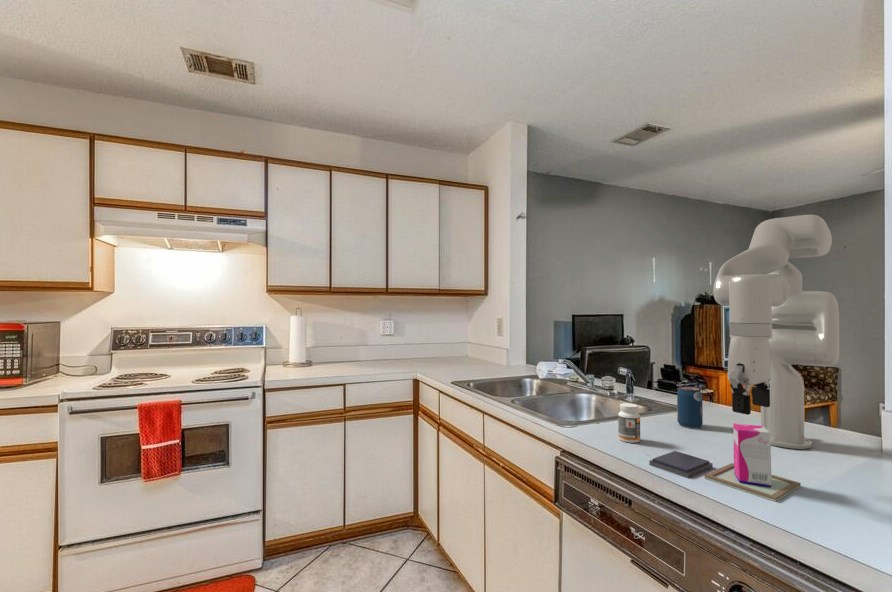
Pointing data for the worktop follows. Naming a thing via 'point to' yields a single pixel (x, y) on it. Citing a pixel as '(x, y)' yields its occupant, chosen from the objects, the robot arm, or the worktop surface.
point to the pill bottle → (629, 423)
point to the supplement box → (752, 455)
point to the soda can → (689, 407)
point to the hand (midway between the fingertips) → (751, 409)
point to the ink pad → (681, 464)
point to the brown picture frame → (774, 493)
